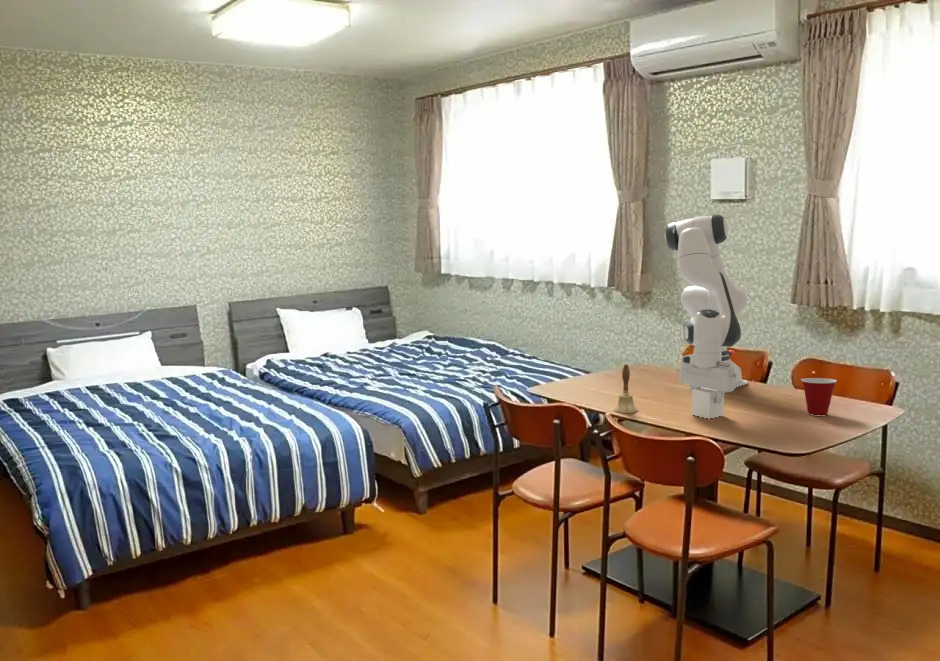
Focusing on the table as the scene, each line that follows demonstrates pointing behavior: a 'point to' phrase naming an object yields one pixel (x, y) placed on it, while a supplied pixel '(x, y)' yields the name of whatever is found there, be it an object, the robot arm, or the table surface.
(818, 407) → the plastic cup
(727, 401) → the table surface
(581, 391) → the table surface
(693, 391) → the white cube block
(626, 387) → the hand bell
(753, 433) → the table surface
